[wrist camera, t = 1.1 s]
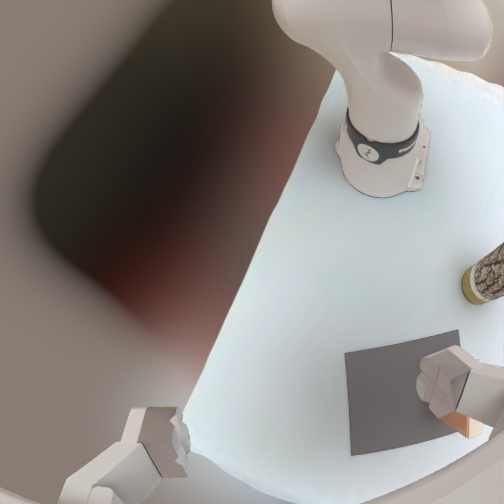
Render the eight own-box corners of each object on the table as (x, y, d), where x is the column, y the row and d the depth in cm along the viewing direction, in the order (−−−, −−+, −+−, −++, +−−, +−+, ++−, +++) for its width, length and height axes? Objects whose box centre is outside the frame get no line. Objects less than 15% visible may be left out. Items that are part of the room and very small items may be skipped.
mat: (457, 329, 40) (458, 329, 39) (462, 429, 34) (463, 429, 33) (344, 353, 44) (344, 353, 44) (351, 455, 38) (351, 455, 38)
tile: (445, 357, 39) (481, 359, 26) (448, 413, 35) (481, 433, 23) (433, 360, 39) (466, 364, 26) (435, 417, 36) (466, 439, 23)
